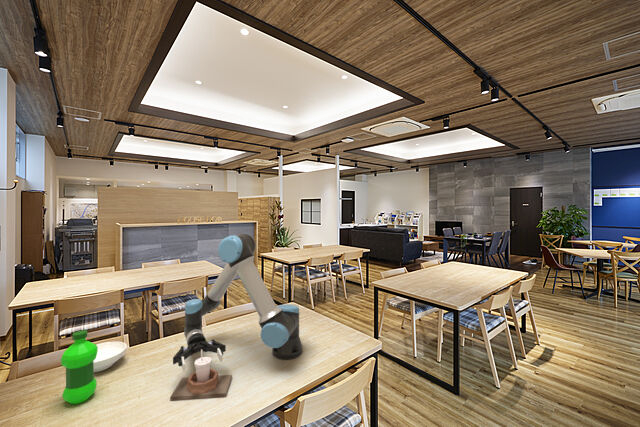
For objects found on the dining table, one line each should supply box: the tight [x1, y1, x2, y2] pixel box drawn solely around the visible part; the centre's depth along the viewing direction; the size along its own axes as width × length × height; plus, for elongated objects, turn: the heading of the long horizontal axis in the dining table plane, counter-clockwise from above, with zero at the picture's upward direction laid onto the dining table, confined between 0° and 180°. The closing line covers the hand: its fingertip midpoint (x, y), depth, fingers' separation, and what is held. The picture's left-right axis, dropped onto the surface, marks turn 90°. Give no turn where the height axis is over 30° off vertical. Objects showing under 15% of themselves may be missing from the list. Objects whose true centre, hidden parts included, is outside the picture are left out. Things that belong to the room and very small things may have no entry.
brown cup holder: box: [169, 368, 233, 402], centre depth 111 cm, size 20×12×5 cm, turn 97°
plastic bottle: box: [60, 329, 98, 405], centre depth 104 cm, size 10×10×25 cm
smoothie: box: [194, 350, 213, 383], centre depth 111 cm, size 6×6×14 cm
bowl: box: [94, 341, 128, 373], centre depth 126 cm, size 20×20×7 cm
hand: (203, 363), depth 109 cm, fingers open, 13 cm apart
